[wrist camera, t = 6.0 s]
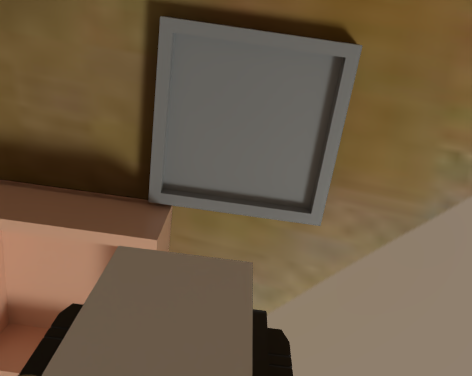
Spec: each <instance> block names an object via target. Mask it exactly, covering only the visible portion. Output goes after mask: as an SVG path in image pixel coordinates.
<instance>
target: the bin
mask: <svg viewBox="0 0 472 376" xmlns="http://www.w3.org/2000/svg"><path fill="white" fill-rule="evenodd" d="M172 207H173V205H166V204H159V203H151V202H148V200H145V199H138V198H130V197H123V196H116V195H109V194H101V193H94V192H87V191H80V190H73V189H65V188H58V187H51V186H44V185H36V184H29V183H22V182H15V181H7V180H0V376H18V375H19V373H20V372H21V370H22V369H23V367H24V366H25V364H26V363H27V361H28V360H29V358H30V357H31V355H32V354H33V352H34V351H35V349H36V348H37V346H38V345H39V343H40V342H41V340H42V338H44V335H45V334H46V332H47V331H48V329H49V328H51V325H52V323H53V322H54V320H55V319H56V317H57V316H58V314H59V313H60V312H61V311H63V310H64V309H66V308H67V307H68V306H70V305H71V304H73V303H74V304H82V305H83V304H84V303H85V301H86V299H87V298H88V296H89V294H90V293H91V291H92V290H93V288H94V286H95V285H96V283H97V281H98V279H99V278H100V276H101V274H102V273H103V271H104V269H105V268H106V266H107V264H108V263H109V261H110V259H111V258H112V256H113V254H114V252H115V251H116V249H117V247H118V246H126V247H134V248H142V249H150V250H157V251H165V252H169V241H170V230H171V219H172Z"/></svg>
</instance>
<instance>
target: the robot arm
mask: <svg viewBox="0 0 472 376" xmlns="http://www.w3.org/2000/svg"><path fill="white" fill-rule="evenodd" d="M89 295H90V294H89ZM86 300H87V299H86ZM83 305H84V304H83ZM83 305H82V304H74V303H73V304H71V305H70V306H68V307H67V308H66V309H64V310H63V311H61V312H60V313H59V314H58V316H57V317H56V319H55V320H54V322H53V323H52V325H51V328H49V329H48V331H47V332H46V334H45V335H44V338H42V340H41V342H40V343H39V345H38V346H37V348H36V349H35V351H34V352H33V354H32V355H31V357H30V358H29V360H28V361H27V363H26V364H25V366H24V367H23V369H22V370H21V372H20V373H19V375H18V376H42V374H43V372H44V371H45V369H46V367H47V366H48V364H49V362H50V360H51V359H52V357H53V355H54V354H55V352H56V350H57V349H58V347H59V345H60V344H61V342H62V340H63V339H64V337H65V335H66V333H67V332H68V330H69V328H70V327H71V325H72V323H73V322H74V320H75V318H76V317H77V315H78V313H79V312H80V310H81V308H82V306H83ZM290 354H291V353H290V345H289V341H288V339H287V338H286V336H285V335H284V333H283V331H282V330H280V329H272V328H267V313H266V311H262V310H254V309H253V335H252V376H293V372H292V362H291V355H290Z"/></svg>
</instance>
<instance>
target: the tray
mask: <svg viewBox="0 0 472 376" xmlns="http://www.w3.org/2000/svg"><path fill="white" fill-rule="evenodd" d="M361 50H362V45H359V44H353V43H346V42H339V41H332V40H325V39H319V38H312V37H305V36H298V35H291V34H284V33H277V32H270V31H263V30H257V29H250V28H243V27H236V26H229V25H222V24H215V23H208V22H201V21H195V20H188V19H181V18H174V17H167V16H160V27H159V42H158V58H157V74H156V89H155V105H154V121H153V136H152V152H151V167H150V183H149V199H148V202H151V203H159V204H166V205H173V206H180V207H188V208H195V209H202V210H209V211H217V212H224V213H231V214H238V215H245V216H253V217H260V218H267V219H274V220H282V221H289V222H296V223H303V224H311V225H318V226H320V225H321V221H322V217H323V212H324V208H325V204H326V199H327V195H328V191H329V187H330V182H331V178H332V174H333V170H334V165H335V161H336V157H337V152H338V148H339V144H340V140H341V135H342V131H343V127H344V122H345V118H346V114H347V110H348V105H349V101H350V97H351V92H352V88H353V84H354V80H355V75H356V71H357V67H358V62H359V58H360V54H361Z"/></svg>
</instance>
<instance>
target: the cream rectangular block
mask: <svg viewBox="0 0 472 376" xmlns="http://www.w3.org/2000/svg"><path fill="white" fill-rule="evenodd" d="M252 335H253V263H252V262H244V261H237V260H229V259H221V258H213V257H205V256H197V255H189V254H181V253H173V252H165V251H157V250H150V249H142V248H134V247H126V246H118V247H117V249H116V251H115V252H114V254H113V256H112V258H111V259H110V261H109V263H108V264H107V266H106V268H105V269H104V271H103V273H102V274H101V276H100V278H99V279H98V281H97V283H96V285H95V286H94V288H93V290H92V291H91V293H90V295H89V296H88V298H87V300H86V301H85V303H84V305H83V306H82V308H81V310H80V312H79V313H78V315H77V317H76V318H75V320H74V322H73V323H72V325H71V327H70V328H69V330H68V332H67V333H66V335H65V337H64V339H63V340H62V342H61V344H60V345H59V347H58V349H57V350H56V352H55V354H54V355H53V357H52V359H51V360H50V362H49V364H48V366H47V367H46V369H45V371H44V372H43V374H42V376H252Z"/></svg>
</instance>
